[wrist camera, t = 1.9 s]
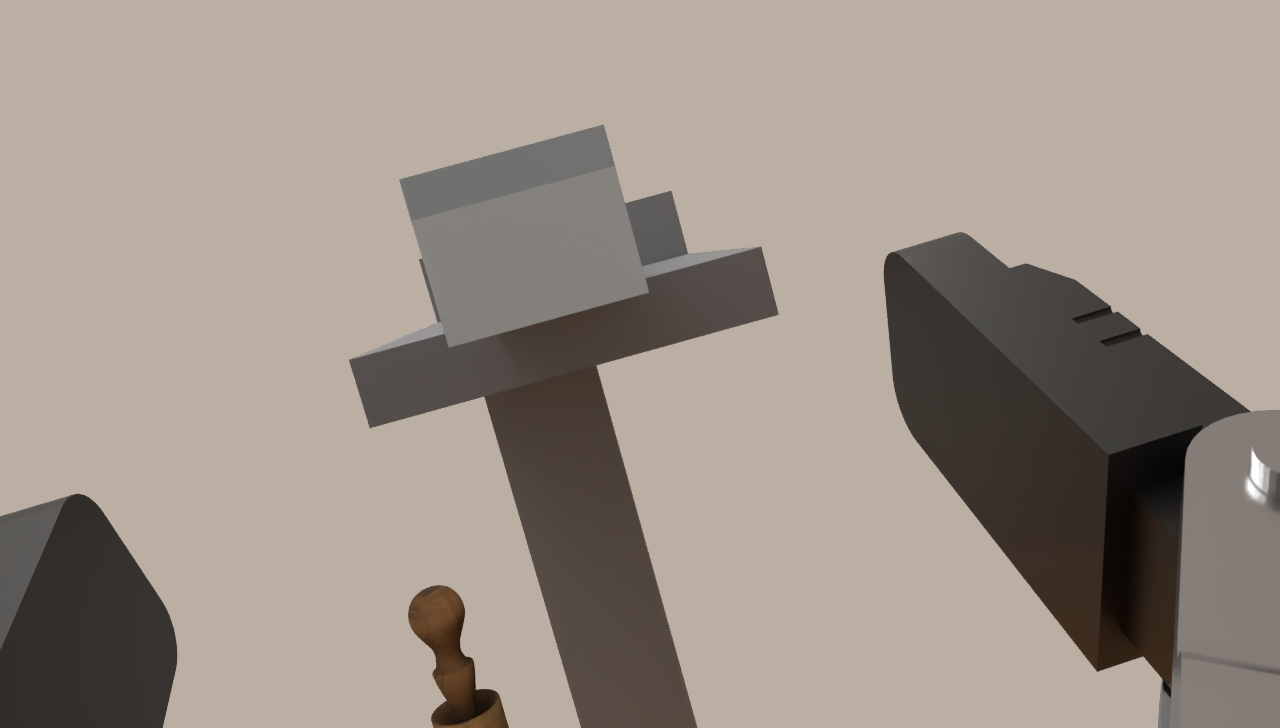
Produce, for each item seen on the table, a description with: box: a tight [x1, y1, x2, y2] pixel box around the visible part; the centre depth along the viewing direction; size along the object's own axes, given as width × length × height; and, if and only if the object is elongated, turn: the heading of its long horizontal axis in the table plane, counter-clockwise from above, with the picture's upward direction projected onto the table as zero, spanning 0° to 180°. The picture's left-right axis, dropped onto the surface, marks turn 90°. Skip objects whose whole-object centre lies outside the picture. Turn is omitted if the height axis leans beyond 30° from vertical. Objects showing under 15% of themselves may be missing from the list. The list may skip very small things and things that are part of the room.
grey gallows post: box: [349, 191, 778, 728], centre depth 40 cm, size 20×12×35 cm, turn 4°
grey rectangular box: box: [400, 125, 649, 347], centre depth 31 cm, size 24×4×3 cm, turn 4°
